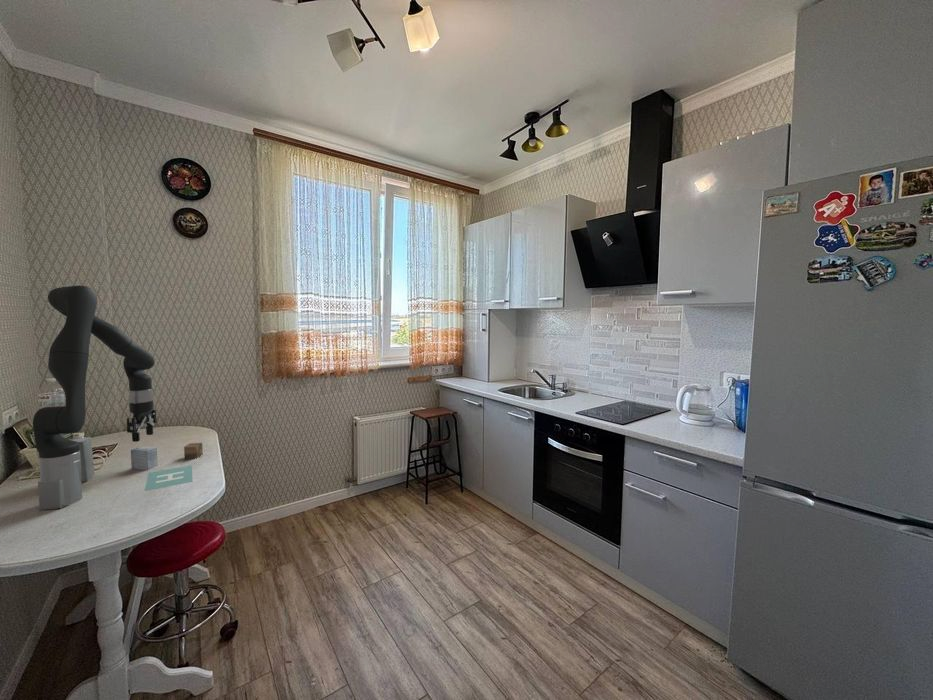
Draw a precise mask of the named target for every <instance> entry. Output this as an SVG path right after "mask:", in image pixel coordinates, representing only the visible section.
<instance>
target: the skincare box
mask: <svg viewBox="0 0 933 700" xmlns="http://www.w3.org/2000/svg"><path fill="white" fill-rule="evenodd" d="M70 440H72V441H76V442H78V443H79V445H80V461H81V478H82V483H85V481H87V482H89V480H90V479H91V478H93V476H94V475H95V466H94V465H95V464H94V456H93V449H92V448H93V446H92V438H91V436H87V437H82V438H81V437H80V438H73V439H71V438H70Z"/></svg>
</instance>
